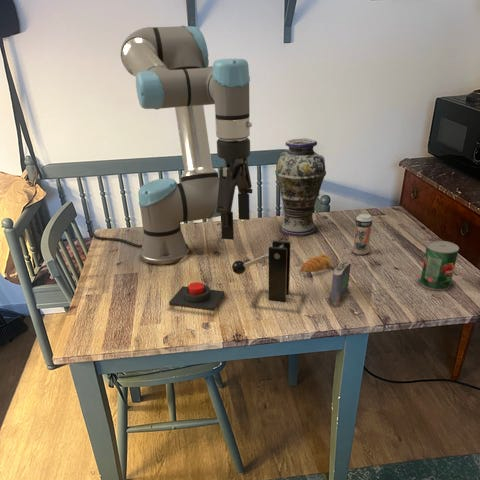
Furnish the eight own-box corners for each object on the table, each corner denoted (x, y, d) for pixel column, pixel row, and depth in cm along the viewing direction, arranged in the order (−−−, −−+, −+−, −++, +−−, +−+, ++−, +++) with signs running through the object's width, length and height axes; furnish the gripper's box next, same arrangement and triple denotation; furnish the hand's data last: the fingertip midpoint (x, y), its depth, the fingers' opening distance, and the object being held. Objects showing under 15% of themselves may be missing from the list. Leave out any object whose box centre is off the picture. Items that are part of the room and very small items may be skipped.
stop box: (169, 309, 120) (168, 295, 118) (183, 293, 127) (182, 280, 125) (213, 315, 117) (212, 301, 115) (224, 298, 124) (224, 284, 122)
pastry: (311, 278, 132) (312, 266, 130) (295, 271, 137) (295, 259, 135) (333, 269, 137) (334, 257, 135) (317, 262, 141) (317, 250, 140)
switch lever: (234, 278, 120) (227, 266, 119) (238, 272, 123) (232, 260, 122) (286, 258, 113) (279, 246, 112) (289, 253, 116) (283, 240, 115)
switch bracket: (252, 306, 120) (251, 249, 111) (261, 290, 127) (260, 236, 119) (298, 312, 116) (300, 254, 108) (304, 295, 124) (307, 239, 115)
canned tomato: (451, 291, 123) (460, 253, 117) (420, 288, 125) (427, 250, 119) (449, 278, 129) (457, 241, 124) (419, 276, 131) (426, 239, 126)
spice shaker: (351, 254, 146) (355, 217, 139) (354, 248, 149) (357, 212, 143) (366, 256, 144) (371, 219, 138) (369, 250, 148) (373, 214, 141)
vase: (310, 242, 155) (315, 148, 139) (265, 233, 163) (265, 143, 148) (330, 226, 167) (336, 138, 151) (287, 219, 175) (289, 134, 159)
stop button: (186, 294, 119) (186, 288, 118) (192, 287, 122) (191, 281, 121) (201, 296, 118) (200, 290, 117) (206, 288, 121) (206, 283, 120)
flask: (338, 306, 118) (341, 268, 113) (327, 304, 119) (329, 266, 114) (349, 291, 125) (352, 254, 119) (338, 289, 126) (341, 252, 121)
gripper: (232, 151, 92) (235, 249, 104) (263, 128, 113) (263, 212, 124) (197, 149, 94) (204, 246, 106) (234, 127, 115) (236, 210, 126)
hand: (236, 228), depth 115 cm, fingers open, 13 cm apart
